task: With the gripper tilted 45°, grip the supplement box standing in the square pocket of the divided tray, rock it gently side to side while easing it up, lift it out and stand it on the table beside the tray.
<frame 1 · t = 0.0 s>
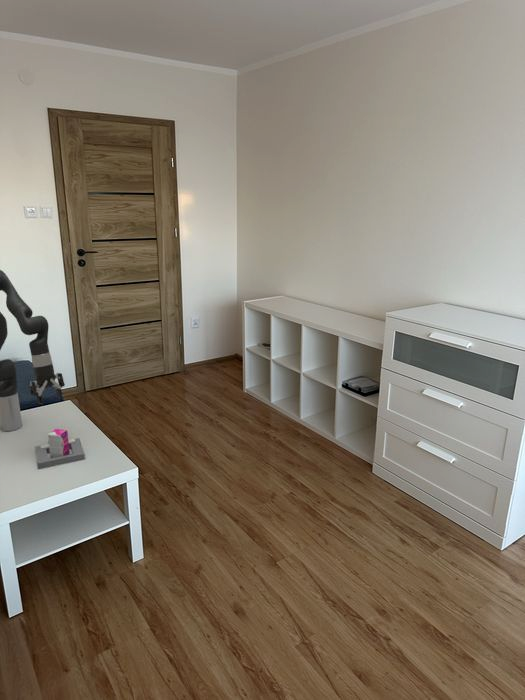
hand: (50, 400, 211), 22 cm above the table, tool pointing down, fingers open, 8 cm apart
supplement box: (60, 456, 211), resting in divided tray
divided tray: (60, 456, 211), on the table
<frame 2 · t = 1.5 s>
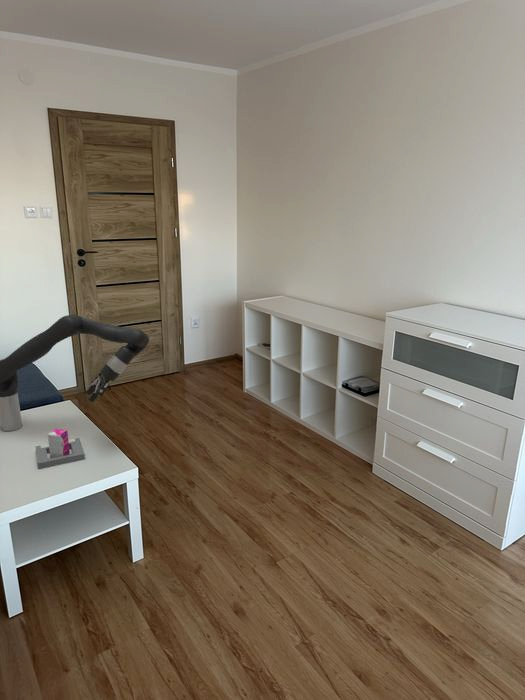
hand: (88, 397, 212), 23 cm above the table, tool tilted 45°, fingers open, 8 cm apart
nothing on the table moved.
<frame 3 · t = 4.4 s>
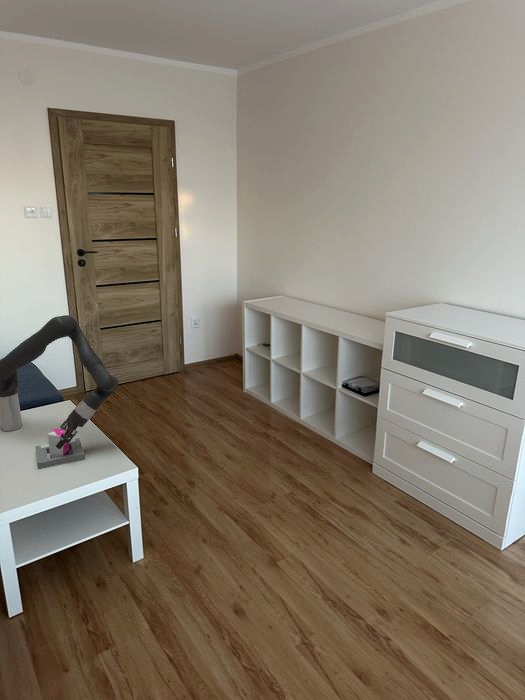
hand: (56, 443, 209), 6 cm above the table, tool tilted 45°, fingers open, 8 cm apart
nothing on the table moved.
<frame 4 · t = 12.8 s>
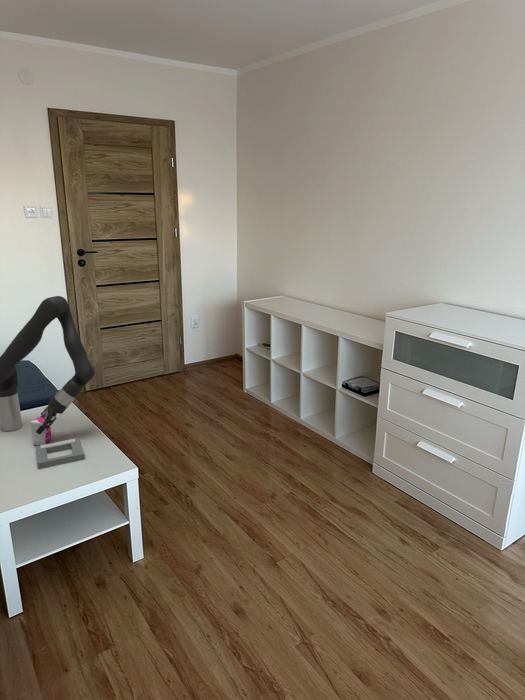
hand: (37, 429, 219), 7 cm above the table, tool tilted 45°, fingers open, 8 cm apart
supplement box: (43, 443, 222), on the table
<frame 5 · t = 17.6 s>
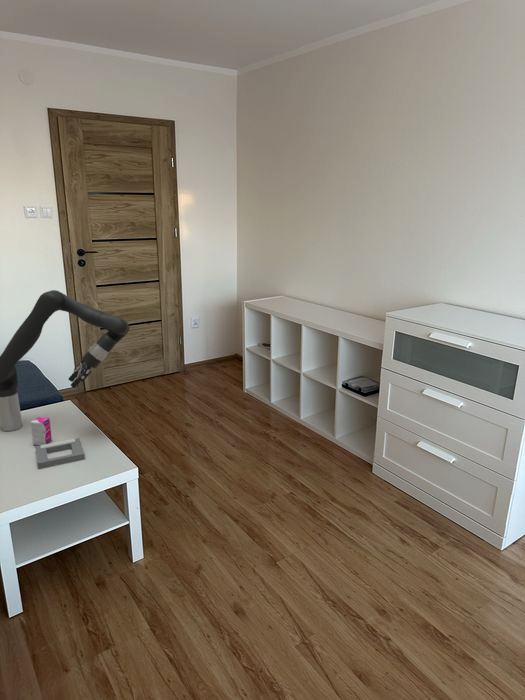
hand: (71, 383, 219), 27 cm above the table, tool tilted 45°, fingers open, 8 cm apart
nothing on the table moved.
at the end: supplement box inside the target area (0.2 cm from its centre), on the table; supplement box tilted 0°; supplement box touching table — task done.
